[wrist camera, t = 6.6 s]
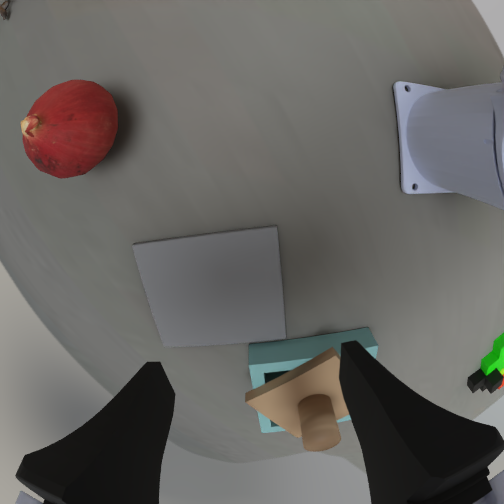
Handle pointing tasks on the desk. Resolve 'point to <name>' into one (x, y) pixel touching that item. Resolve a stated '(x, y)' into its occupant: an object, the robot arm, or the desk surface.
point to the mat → (214, 287)
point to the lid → (305, 401)
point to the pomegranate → (70, 128)
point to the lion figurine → (3, 10)
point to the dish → (298, 359)
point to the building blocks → (490, 369)
